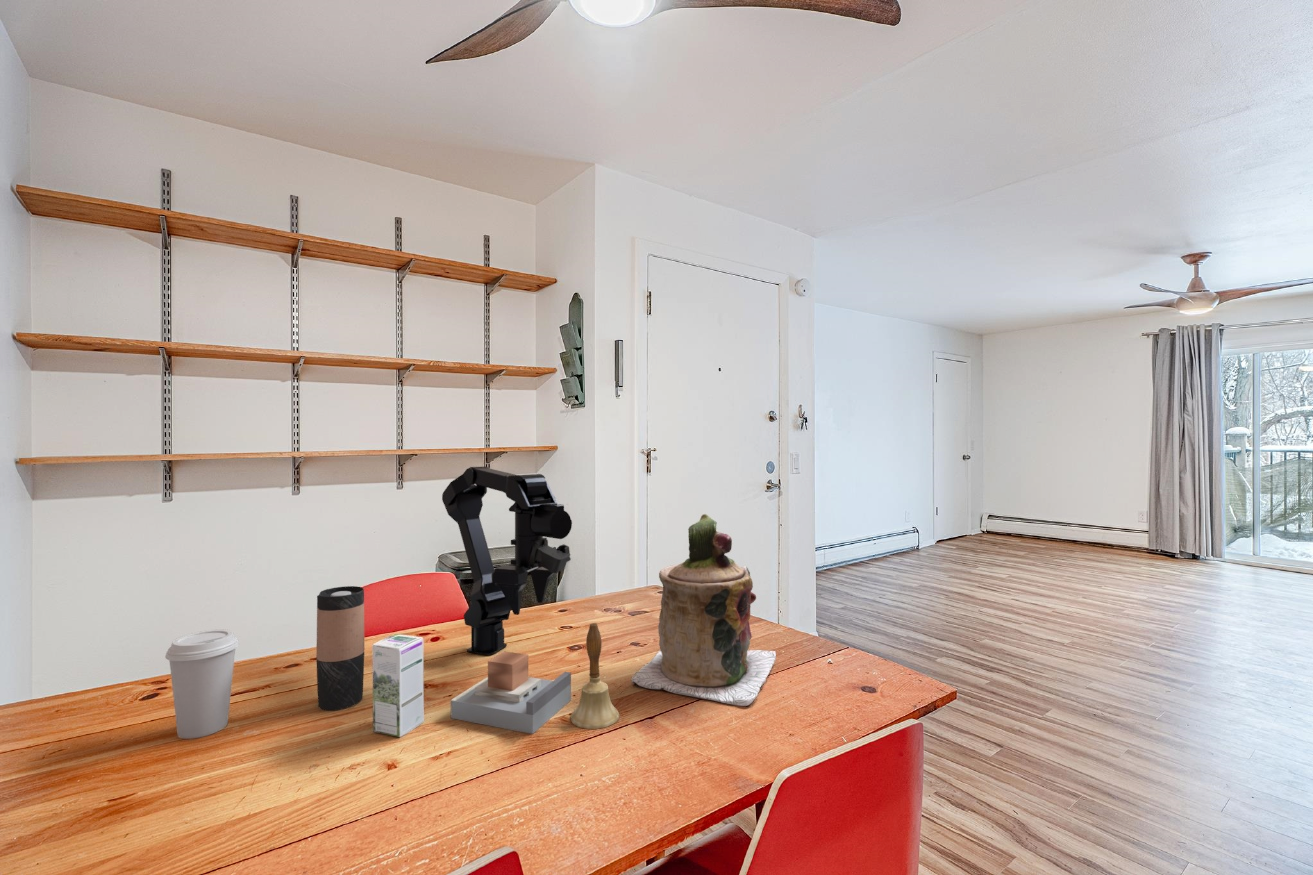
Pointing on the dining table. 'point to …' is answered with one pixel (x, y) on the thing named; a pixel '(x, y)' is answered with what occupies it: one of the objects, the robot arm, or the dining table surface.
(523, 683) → the pallet
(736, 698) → the cookie jar
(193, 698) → the coffee cup
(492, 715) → the dock
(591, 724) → the hand bell
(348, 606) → the travel mug
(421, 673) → the syrup box
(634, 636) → the dining table surface
